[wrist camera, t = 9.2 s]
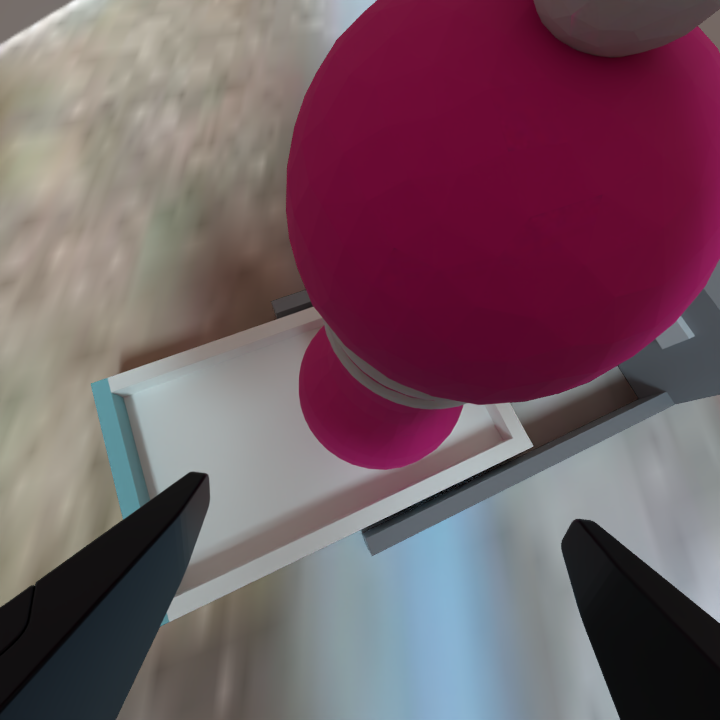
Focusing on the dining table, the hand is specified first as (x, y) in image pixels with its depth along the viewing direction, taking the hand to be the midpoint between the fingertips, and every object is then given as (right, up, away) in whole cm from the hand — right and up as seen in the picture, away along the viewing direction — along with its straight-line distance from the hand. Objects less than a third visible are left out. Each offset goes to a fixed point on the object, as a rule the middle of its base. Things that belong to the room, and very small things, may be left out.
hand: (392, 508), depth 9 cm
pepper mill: (0, +1, +12) cm, 12 cm away
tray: (-3, 0, +12) cm, 13 cm away
